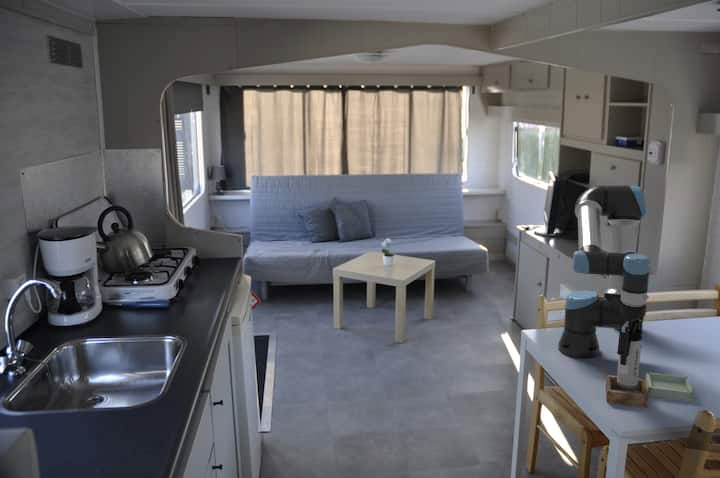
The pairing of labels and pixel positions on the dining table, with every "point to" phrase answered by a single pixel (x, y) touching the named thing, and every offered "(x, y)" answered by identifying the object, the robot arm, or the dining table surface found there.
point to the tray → (668, 386)
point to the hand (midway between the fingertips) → (627, 369)
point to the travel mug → (631, 363)
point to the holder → (626, 393)
